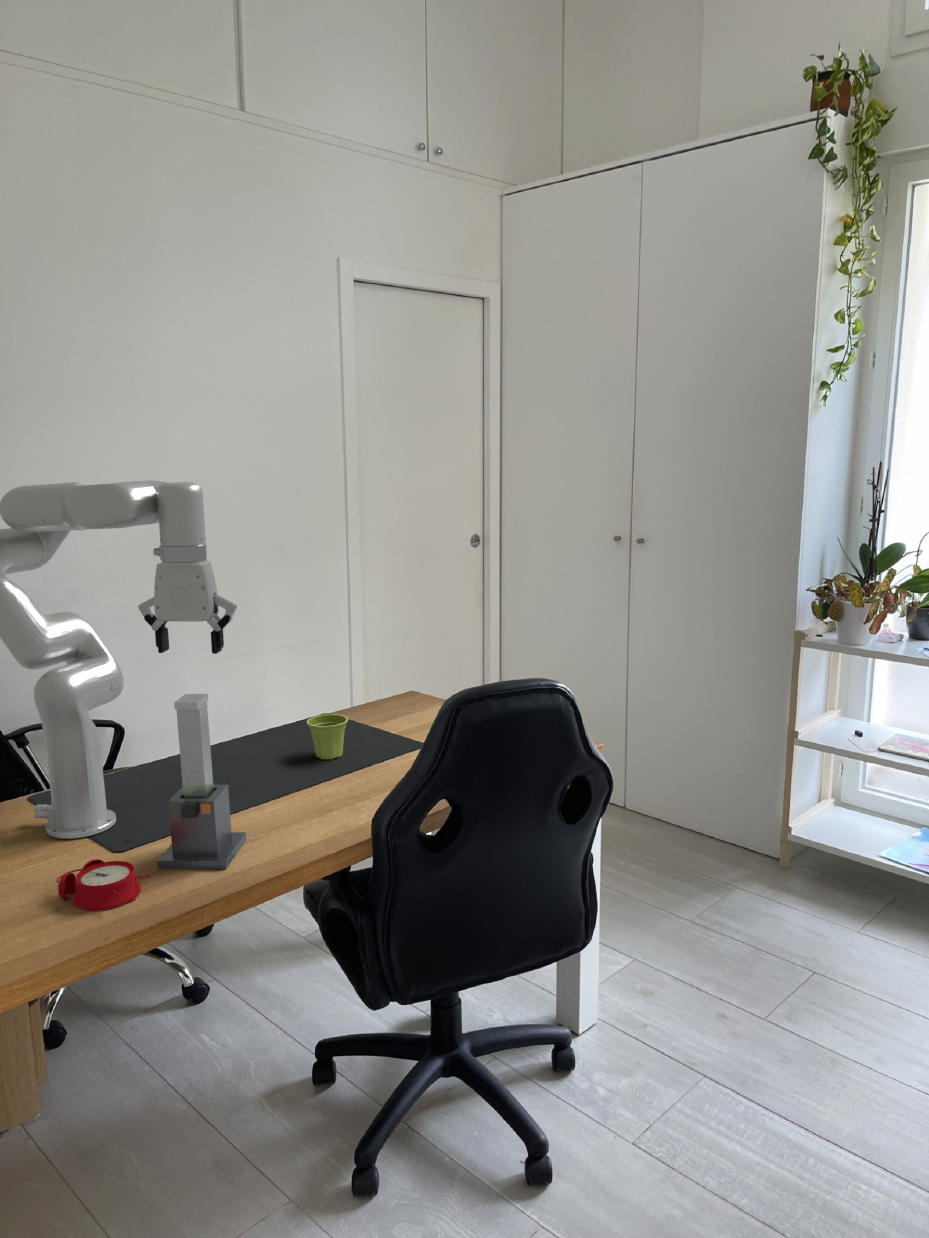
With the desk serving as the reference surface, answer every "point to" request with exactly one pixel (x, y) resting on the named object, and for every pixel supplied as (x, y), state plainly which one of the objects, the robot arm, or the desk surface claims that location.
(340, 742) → the plant pot
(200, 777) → the column
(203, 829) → the stand base
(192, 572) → the robot arm
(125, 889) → the alarm clock
